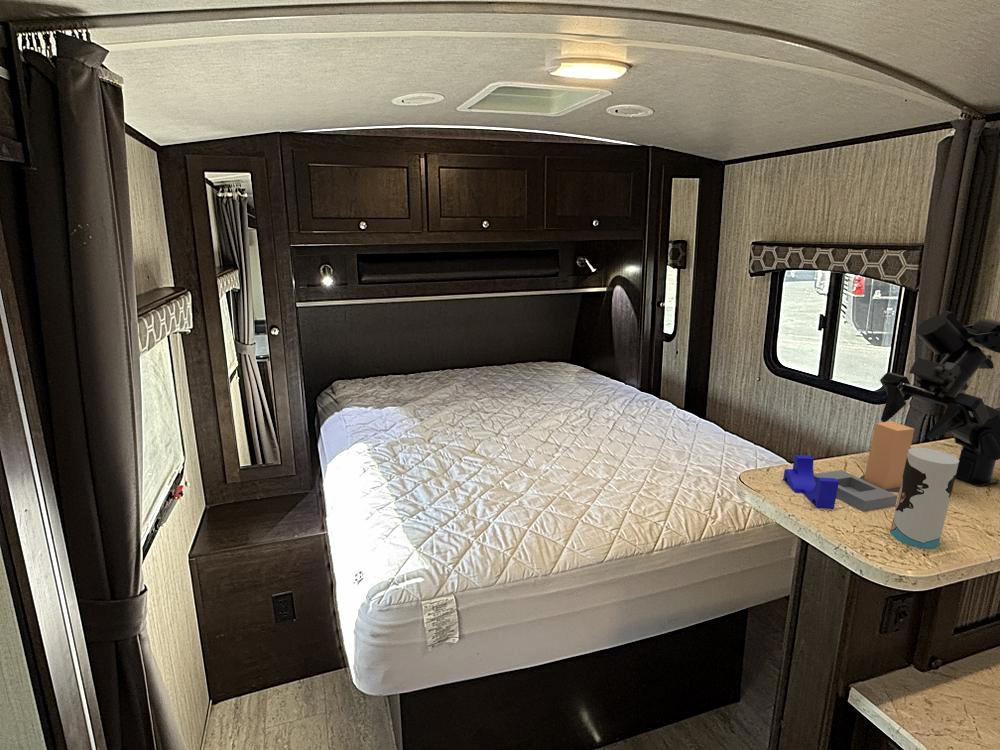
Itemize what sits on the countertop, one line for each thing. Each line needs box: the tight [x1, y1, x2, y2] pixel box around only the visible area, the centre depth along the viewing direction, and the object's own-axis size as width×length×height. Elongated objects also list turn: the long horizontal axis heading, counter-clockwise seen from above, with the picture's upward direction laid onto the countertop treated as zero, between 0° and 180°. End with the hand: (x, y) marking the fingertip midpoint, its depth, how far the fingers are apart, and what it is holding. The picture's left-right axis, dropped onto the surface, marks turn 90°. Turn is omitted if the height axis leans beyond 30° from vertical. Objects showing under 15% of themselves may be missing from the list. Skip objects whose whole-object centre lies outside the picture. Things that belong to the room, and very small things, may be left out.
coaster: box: [859, 474, 900, 493], centre depth 122 cm, size 8×8×1 cm
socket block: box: [814, 469, 898, 512], centre depth 116 cm, size 8×12×2 cm, turn 20°
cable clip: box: [783, 454, 839, 510], centre depth 115 cm, size 12×4×6 cm, turn 176°
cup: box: [890, 447, 959, 550], centre depth 99 cm, size 7×7×15 cm
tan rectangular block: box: [864, 420, 915, 489], centre depth 120 cm, size 5×5×12 cm
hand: (904, 429), depth 120 cm, fingers open, 9 cm apart
